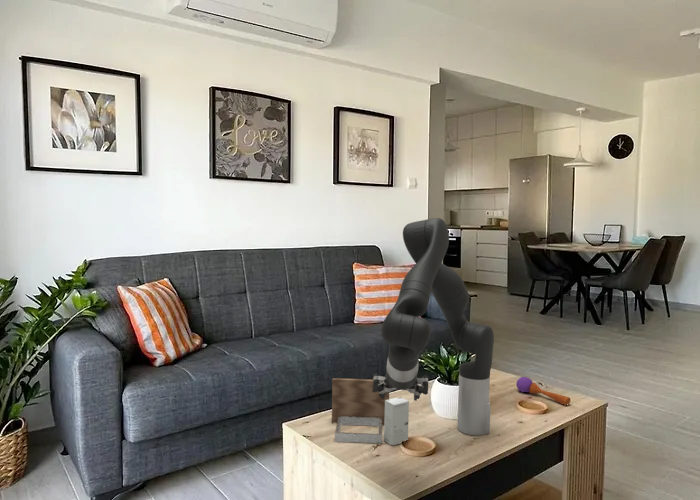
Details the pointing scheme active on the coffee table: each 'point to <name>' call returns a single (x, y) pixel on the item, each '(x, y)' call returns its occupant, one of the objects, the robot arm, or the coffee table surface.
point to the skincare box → (396, 420)
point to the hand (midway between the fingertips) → (399, 396)
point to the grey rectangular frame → (358, 436)
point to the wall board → (356, 399)
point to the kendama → (539, 390)
